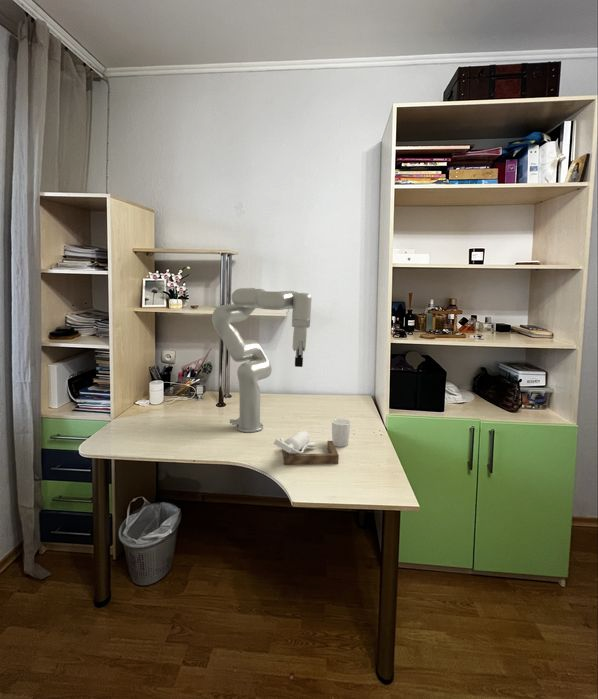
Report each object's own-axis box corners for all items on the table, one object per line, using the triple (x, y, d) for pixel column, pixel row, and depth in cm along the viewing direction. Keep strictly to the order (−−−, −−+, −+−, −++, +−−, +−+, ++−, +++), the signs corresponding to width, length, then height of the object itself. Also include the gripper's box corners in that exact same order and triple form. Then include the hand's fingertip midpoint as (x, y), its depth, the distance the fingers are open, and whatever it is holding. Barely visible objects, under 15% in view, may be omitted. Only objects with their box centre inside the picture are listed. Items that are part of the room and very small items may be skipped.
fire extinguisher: (312, 454, 193) (297, 465, 169) (288, 439, 196) (270, 448, 172) (320, 440, 193) (306, 449, 169) (295, 425, 196) (278, 432, 172)
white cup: (348, 440, 202) (349, 418, 200) (350, 447, 194) (351, 425, 192) (330, 440, 201) (331, 418, 200) (332, 447, 194) (332, 424, 192)
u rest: (284, 464, 176) (284, 456, 175) (281, 449, 190) (282, 441, 190) (338, 463, 178) (338, 455, 177) (331, 448, 192) (332, 440, 192)
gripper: (291, 320, 196) (288, 361, 200) (292, 325, 182) (290, 370, 185) (308, 321, 197) (306, 362, 200) (311, 326, 182) (308, 371, 186)
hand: (298, 366), depth 193 cm, fingers closed
